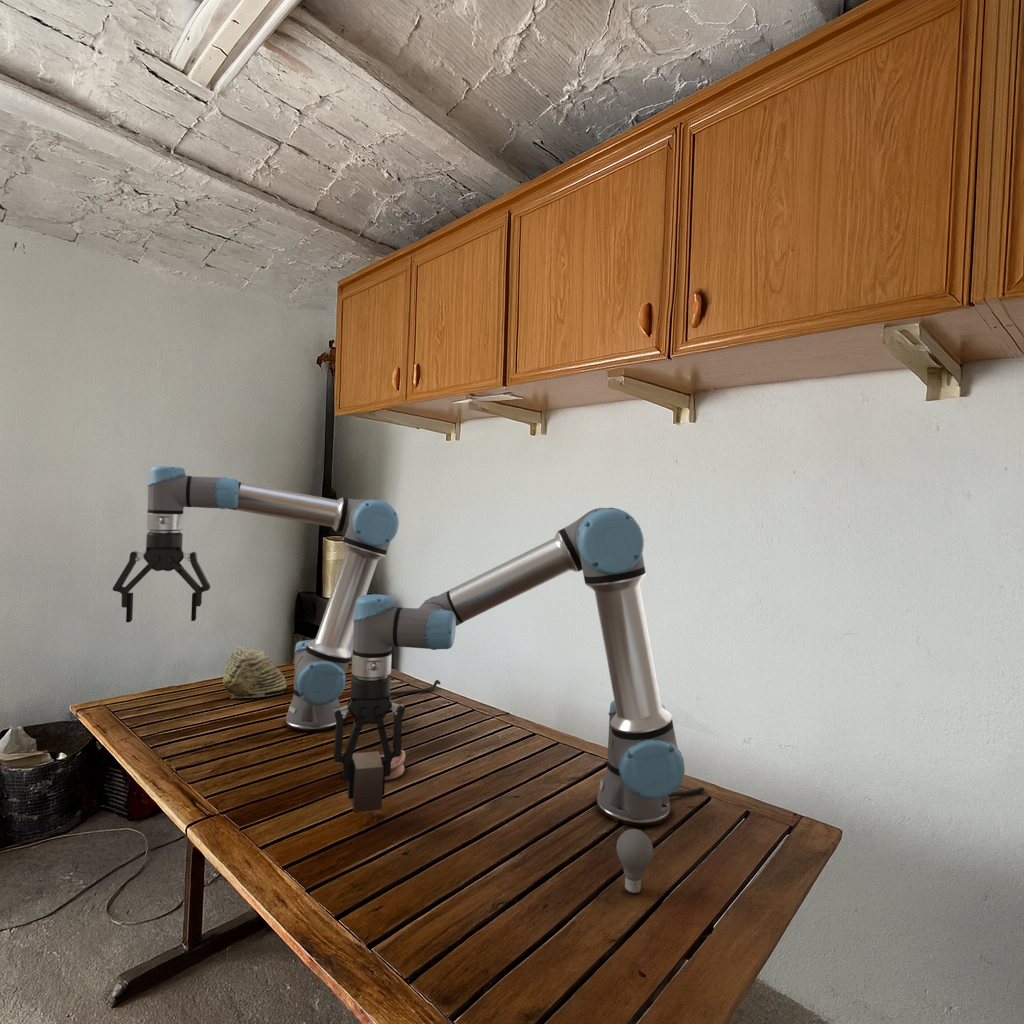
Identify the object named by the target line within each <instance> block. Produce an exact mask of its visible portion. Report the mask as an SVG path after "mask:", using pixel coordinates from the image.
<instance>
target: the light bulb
mask: <svg viewBox="0 0 1024 1024" xmlns="http://www.w3.org/2000/svg"><path fill="white" fill-rule="evenodd" d="M615 849H616V854H617V857H618V859H619V861H620V863H621V865H622V867H623V873H624V874H623V875H624V876H625V878H624V888H625V890H627V891H628V892H630V893H634V894H635V893H639V892H640V891H641V889H642V887H641V886H642V879H643V877H644V875H645V871H646V868H647V867H648V866H649V864H650V863H651V861H652V859H653V855H654V847H653V843H652V841H651V838H649V836H648V835H647V834H646V833H645V832H643V831H642V830H641V829H636V828H629V829H627V830H625V831H623V832H622V833H621V834H620V835H619V837H618V839H617V841H616V847H615Z"/></svg>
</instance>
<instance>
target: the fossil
mask: <svg viewBox="0 0 1024 1024" xmlns="http://www.w3.org/2000/svg"><path fill="white" fill-rule="evenodd" d="M222 676H223V677H222V685H223V687H224V688H225V690H226V691H228V693H229V698H230V699H250V698H264V697H271V696H275V695H281V694H284V693H285V691H286V689H287V687H288V686H287V680H286V678H285V676H284V674H283V673H282V672H281V669H279V668H278V667H277V665H276V663H275V662H274V660H273V659H272V658H271V657H270V656H269V655H268V654H267V653H266V652H265V650H264V649H263V648H260V647H258V648H251V647H247V646H246V647H245V646H238V647H237V648H236V649H235V650H233V651H232V653H231V656H230V657H229V659H228V660H227V663H226V666H225V668H224V671H223V675H222Z"/></svg>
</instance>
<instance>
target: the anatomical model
mask: <svg viewBox="0 0 1024 1024" xmlns="http://www.w3.org/2000/svg"><path fill="white" fill-rule="evenodd" d="M380 757H384V753H383V754H381V755H380ZM405 760H406V751H405V750H403V749H401V755H400V756H399V757H394V758H393V759H392V761H391V773H390V776H385V781H388V780H393V779H396V778H398V777H400V776H402V775H403V773H404V772H405V765H404V763H405Z"/></svg>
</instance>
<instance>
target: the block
mask: <svg viewBox="0 0 1024 1024" xmlns="http://www.w3.org/2000/svg"><path fill="white" fill-rule="evenodd" d="M380 756H381V755H380V752H379V751H378V750H377V751H376V750H375V751H366V752H354V753H353V756H352V759H353V762H354V784H353V799H350V802H351V806H352V811H353V813H354V814H356V813H364V812H371V811H372V812H373V811H379V810H382V809H383V795H382V790H383V769H384V766H383V763H382V761H381V758H380Z"/></svg>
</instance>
